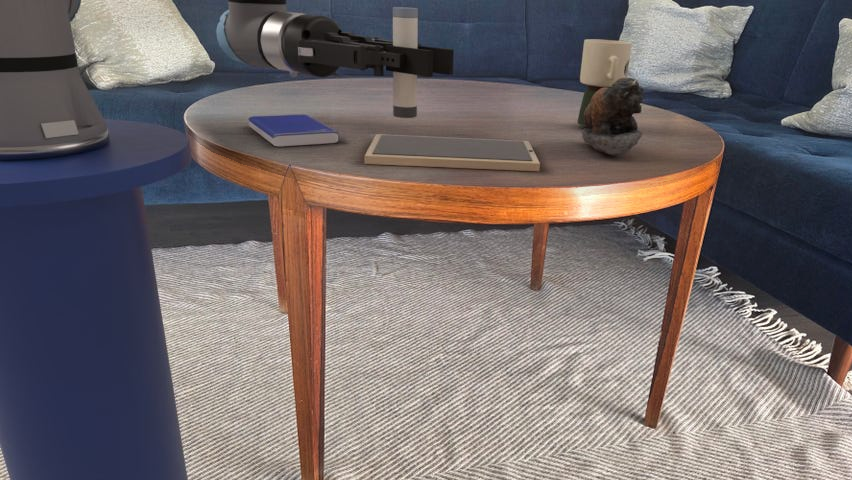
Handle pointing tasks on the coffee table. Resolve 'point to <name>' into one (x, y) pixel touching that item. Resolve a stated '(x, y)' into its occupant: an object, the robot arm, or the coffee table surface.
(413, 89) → the stylus
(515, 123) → the coffee table surface
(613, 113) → the bison figurine
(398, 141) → the tablet
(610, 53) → the character mug
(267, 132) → the blue book
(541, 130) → the coffee table surface
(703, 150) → the coffee table surface
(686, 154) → the coffee table surface
